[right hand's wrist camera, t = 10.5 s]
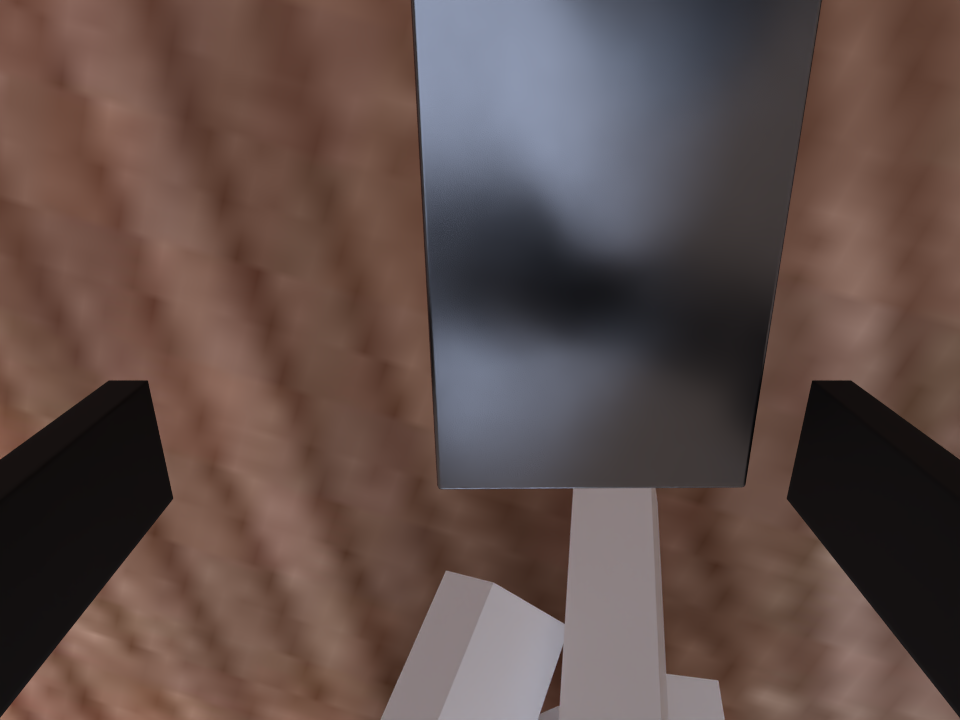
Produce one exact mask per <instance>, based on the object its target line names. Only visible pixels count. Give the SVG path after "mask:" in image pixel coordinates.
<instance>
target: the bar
mask: <svg viewBox="0 0 960 720" xmlns="http://www.w3.org/2000/svg"><path fill="white" fill-rule="evenodd" d="M821 2H822V0H411V12H412V30H413V49H414V67H415V85H416V104H417V122H418V140H419V159H420V177H421V195H422V214H423V232H424V250H425V268H426V287H427V305H428V323H429V342H430V360H431V378H432V397H433V415H434V433H435V452H436V470H437V486H438V488H439V489H571V488H721V487H744V486H745V484H746V477H747V471H748V465H749V458H750V452H751V446H752V439H753V433H754V427H755V420H756V414H757V408H758V401H759V395H760V389H761V382H762V376H763V370H764V363H765V357H766V351H767V344H768V338H769V332H770V325H771V319H772V313H773V306H774V300H775V294H776V287H777V281H778V275H779V268H780V262H781V255H782V249H783V243H784V236H785V230H786V224H787V217H788V211H789V205H790V198H791V192H792V186H793V179H794V173H795V167H796V160H797V154H798V148H799V141H800V135H801V129H802V122H803V116H804V110H805V103H806V97H807V91H808V84H809V78H810V72H811V65H812V59H813V53H814V46H815V40H816V34H817V27H818V21H819V15H820V8H821Z"/></svg>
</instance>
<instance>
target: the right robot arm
mask: <svg viewBox="0 0 960 720" xmlns="http://www.w3.org/2000/svg"><path fill="white" fill-rule="evenodd" d="M172 500H173V495H172V491H171V486H170V481H169V477H168V472H167V467H166V463H165V458H164V454H163V449H162V444H161V440H160V435H159V430H158V426H157V421H156V417H155V412H154V407H153V403H152V398H151V393H150V389H149V384H148V381H108V382H106V383H105V384H104V385H102V386H101V387H99V388H98V389H97V390H95V391H94V392H93V393H91V394H90V395H88V396H87V397H86V398H84V399H83V400H82V401H80V402H79V403H77V404H76V405H75V406H73V407H72V408H71V409H69V410H68V411H66V412H65V413H64V414H62V415H61V416H60V417H58V418H57V419H55V420H54V421H53V422H51V423H50V424H49V425H47V426H46V427H44V428H43V429H42V430H40V431H39V432H38V433H36V434H35V435H33V436H32V437H31V438H29V439H28V440H27V441H25V442H24V443H23V444H21V445H20V446H18V447H17V448H16V449H14V450H13V451H12V452H10V453H9V454H7V455H6V456H5V457H3V458H2V459H1V460H0V717H1V716H2V715H3V713H4V712H5V711H6V710H7V708H8V707H9V706H10V705H11V703H12V702H13V701H14V700H15V698H16V697H17V696H18V694H19V693H20V692H21V691H22V689H23V688H24V687H25V686H26V684H27V683H28V682H29V681H30V679H31V678H32V677H33V675H34V674H35V673H36V672H37V670H38V669H39V668H40V667H41V665H42V664H43V663H44V662H45V660H46V659H47V658H48V656H49V655H50V654H51V653H52V651H53V650H54V649H55V648H56V646H57V645H58V644H59V643H60V641H61V640H62V639H63V638H64V636H65V635H66V634H67V632H68V631H69V630H70V629H71V627H72V626H73V625H74V624H75V622H76V621H77V620H78V619H79V617H80V616H81V615H82V613H83V612H84V611H85V610H86V608H87V607H88V606H89V605H90V603H91V602H92V601H93V600H94V598H95V597H96V596H97V594H98V593H99V592H100V591H101V589H102V588H103V587H104V586H105V584H106V583H107V582H108V581H109V579H110V578H111V577H112V576H113V574H114V573H115V572H116V570H117V569H118V568H119V567H120V565H121V564H122V563H123V562H124V560H125V559H126V558H127V557H128V555H129V554H130V553H131V551H132V550H133V549H134V548H135V546H136V545H137V544H138V543H139V541H140V540H141V539H142V538H143V536H144V535H145V534H146V532H147V531H148V530H149V529H150V527H151V526H152V525H153V524H154V522H155V521H156V520H157V519H158V517H159V516H160V515H161V514H162V512H163V511H164V510H165V508H166V507H167V506H168V505H169V503H170V502H171V501H172ZM787 500H788V501H789V502H790V503H791V505H792V506H793V507H794V508H795V510H796V511H797V512H798V514H799V515H800V516H801V517H802V519H803V520H804V521H805V522H806V524H807V525H808V526H809V527H810V529H811V530H812V531H813V532H814V534H815V535H816V536H817V538H818V539H819V540H820V541H821V543H822V544H823V545H824V546H825V548H826V549H827V550H828V551H829V553H830V554H831V555H832V557H833V558H834V559H835V560H836V562H837V563H838V564H839V565H840V567H841V568H842V569H843V570H844V572H845V573H846V574H847V576H848V577H849V578H850V579H851V581H852V582H853V583H854V584H855V586H856V587H857V588H858V589H859V591H860V592H861V593H862V594H863V596H864V597H865V598H866V600H867V601H868V602H869V603H870V605H871V606H872V607H873V608H874V610H875V611H876V612H877V613H878V615H879V616H880V617H881V619H882V620H883V621H884V622H885V624H886V625H887V626H888V627H889V629H890V630H891V631H892V632H893V634H894V635H895V636H896V638H897V639H898V640H899V641H900V643H901V644H902V645H903V646H904V648H905V649H906V650H907V651H908V653H909V654H910V655H911V657H912V658H913V659H914V660H915V662H916V663H917V664H918V665H919V667H920V668H921V669H922V670H923V672H924V673H925V674H926V675H927V677H928V678H929V679H930V681H931V682H932V683H933V684H934V686H935V687H936V688H937V689H938V691H939V692H940V693H941V694H942V696H943V697H944V698H945V700H946V701H947V702H948V703H949V705H950V706H951V707H952V708H953V710H954V711H955V712H956V713H957V715H958V716H959V717H960V460H959V459H958V458H957V457H955V456H954V455H953V454H951V453H950V452H948V451H947V450H946V449H944V448H943V447H942V446H940V445H939V444H937V443H936V442H935V441H933V440H932V439H931V438H929V437H928V436H927V435H925V434H924V433H922V432H921V431H920V430H918V429H917V428H916V427H914V426H913V425H911V424H910V423H909V422H907V421H906V420H905V419H903V418H902V417H900V416H899V415H898V414H896V413H895V412H894V411H892V410H891V409H889V408H888V407H887V406H885V405H884V404H883V403H881V402H880V401H878V400H877V399H876V398H874V397H873V396H872V395H870V394H869V393H867V392H866V391H865V390H863V389H862V388H861V387H859V386H858V385H856V384H855V383H854V382H852V381H812V384H811V389H810V393H809V398H808V403H807V407H806V412H805V417H804V421H803V426H802V430H801V435H800V440H799V444H798V449H797V454H796V458H795V463H794V467H793V472H792V477H791V481H790V486H789V491H788V495H787Z"/></svg>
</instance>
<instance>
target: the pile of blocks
mask: <svg viewBox="0 0 960 720" xmlns="http://www.w3.org/2000/svg"><path fill="white" fill-rule="evenodd" d="M563 643H564V645H563ZM562 646H563V661H562V677H561V693H560V706H557V707H555V708H552V709H550V710H548V711H545V712H543V713H541V714H540V711H541V708H542V705H543V702H544V700H545V697H546V694H547V691H548V688H549V685H550V682H551V679H552V676H553V673H554V670H555V667H556V664H557V661H558V658H559V655H560V652H561V649H562ZM381 720H725V718H724V712H723V706H722V700H721V694H720V688H719V682H718V680H711V679H703V678H695V677H688V676H680V675H672V674H666V658H665V638H664V618H663V598H662V578H661V559H660V539H659V519H658V502H657V495H656V488H573V500H572V516H571V532H570V548H569V564H568V580H567V596H566V612H565V624H564V623H562V622H560V621H559V620H557V619H555V618H553V617H552V616H550V615H548V614H547V613H545V612H543V611H541V610H540V609H538V608H536V607H535V606H533V605H531V604H529V603H528V602H526V601H524V600H523V599H521V598H519V597H518V596H516V595H514V594H512V593H511V592H509V591H507V590H506V589H504V588H502V587H500V586H499V585H497V584H495V583H494V582H490V581H486V580H482V579H478V578H474V577H470V576H466V575H462V574H458V573H454V572H450V571H446V572H445V574H444V576H443V578H442V581H441V583H440V585H439V588H438V590H437V592H436V594H435V597H434V599H433V601H432V604H431V606H430V608H429V610H428V613H427V615H426V617H425V619H424V622H423V624H422V626H421V629H420V631H419V633H418V635H417V638H416V640H415V642H414V644H413V647H412V649H411V651H410V654H409V656H408V658H407V660H406V663H405V665H404V667H403V670H402V672H401V674H400V676H399V679H398V681H397V683H396V685H395V688H394V690H393V692H392V695H391V697H390V699H389V701H388V704H387V706H386V708H385V711H384V713H383V715H382V717H381Z"/></svg>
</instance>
